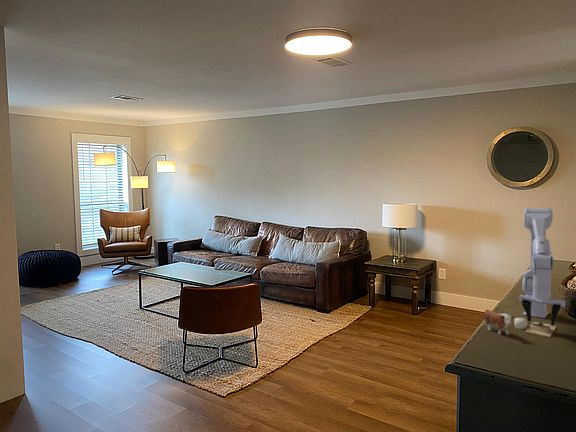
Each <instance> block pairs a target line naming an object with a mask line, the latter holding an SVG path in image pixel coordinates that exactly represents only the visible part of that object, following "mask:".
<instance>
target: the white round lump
mask: <svg viewBox="0 0 576 432" xmlns="http://www.w3.org/2000/svg"><path fill="white" fill-rule="evenodd" d="M513 319H514V323H513V325H514V328H515V329H519V330H527V328H528V322H529V321H528V319H526V318H523V317H514V318H513Z"/></svg>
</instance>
